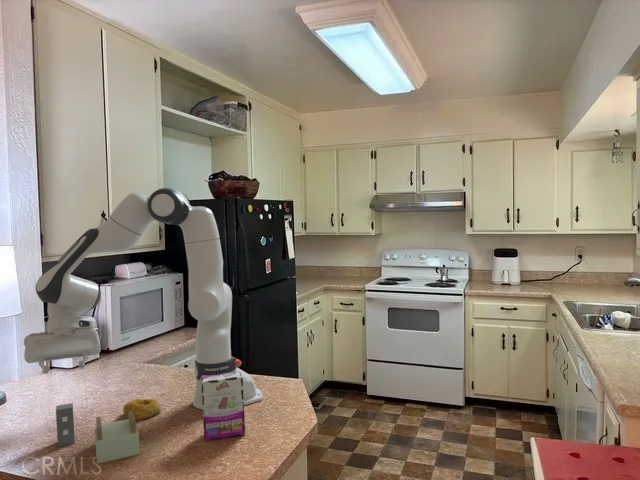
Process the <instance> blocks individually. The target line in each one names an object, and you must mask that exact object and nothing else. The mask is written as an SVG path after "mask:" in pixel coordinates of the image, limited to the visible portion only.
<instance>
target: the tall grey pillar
mask: <svg viewBox="0 0 640 480" xmlns="http://www.w3.org/2000/svg"><path fill="white" fill-rule="evenodd" d="M55 417H56V420H55V421H56V437H57V447H58V448H61V447H65V446H69V445H75V440H76V436H75V422H74V421H75V419H74V403H73V402H71V403H66V404H60V405H56V406H55Z"/></svg>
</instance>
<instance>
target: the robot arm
mask: <svg viewBox="0 0 640 480" xmlns="http://www.w3.org/2000/svg"><path fill="white" fill-rule="evenodd" d="M154 221H157V222H160V223H162V224H167V225H174V226H178V227H180V228H181V230H182V234H183V241H184V247H185V253H186V254H185V255H186V260H187V269H188V303H187V307H188V308H187V309H188V311H189V313H190V316H191V317H192V318H193V319H195V320H197V327H196V332H195V333H196V334H195V357H196V358H195V361H194V375H195V380H196V381H195V392H194V397H193V401H192V406H193V407H194V408H197V409H199V410H203V407H202V388H201V377H206V376H214V375H221V374H229V373H238V372H241V375H242V378H243V397H244V406H247V405H249V404H253V403H256V402H260V401H262V400H263V398H264V395H263V392H262V391H261V390H260V388H258V387H256V383H255V381H254V379H253V377H252V376H251V375H250V374H249V373H247V372H246V371H244V370H242V369H240V368H239V367H241V365H242V361H241V360H240V359H238V358H236V357H234V356H232V349H231V345H232V344H231V328H232V315H233V314H232V310H233V293H232V290H231V287H230V286H229V285H228V284H227V283H226V282H224V259H223V258H224V257H223V252H222V245H221V239H220V233H219V229H218V224H217V221H216V218H215V214H214V213H213V211H212V210H211V209H210V208H208V207H206V206H202V205H201V206H200V205H199V206H192V205H191V201H190V199H189V198H188V197H187V195H185V194H184V193H182V192H181V191H179V190H177V189H173V188H168V187H167V188H166V187H163V188H158V189H157V190H154V191H153V192H152V193H151V194H150V195H149V196H147V195H145V194H143V193H139V192H131V193H128V194H127V195H126V196H125V197H124V198H123V199H122V201H120V202H119V203H118V205H117V206H116V207H115V208H114V210H113V211H112V213H110V215H109V217H108V218H107V219H106V220H105V221H104V222H103V223H102V224H100V225H99V226H97V227H94V228H90V229H88V230H86V231H85V232H84V233H83V234H82V235H81V236H79V238H78V239H76V241H75V242H74V243H73V244H72V245H71V246H70V247H69V248H68V249H67V250H66V251H65V252H64V253H63V255H62V256H61V257H60V258H58V260H57V261H56V262H55V263H54V264H53V265H51V267H50V268H48V269H47V270H46V271H44V273H42V275H40V276H39V278H38V280H37V282H36V284H35V292H36V295H37V297H38V298H39V300H40V301H41V302H43V303H47V316H48V319H47V322H46V323H47V324H46V327H47V328H46V331H41V332H37V333H35V332H33V333H30V334H28V335H26V336H25V338H24V340H23V345H24V346H25V347H24V355H23V357H24V361H25V362H26V363H27V364H35V363H38V366H39V367H40V368H41V372H42V375H44V374H45V375H46V374H49V368H50V367H49V365H45V362H50V361H57V360H65V359H74V358H82V360H80V361H78V369H79V370H83V369H85V364H86V363H87V361H88V359H89V356H97V355H99V354H100V353H101V341H100V335H99V334H98V331H97V330H96V326H95V322H94V321H92V320H85V319H81V318H79V317H80V316H82V315H85V314H87V313H88V312H90V311H92V310H93V309H95V308H96V307H97V306H98V305H99V302H100V300H101V289H100V286H99V285H98V283H96V282H94V281H91V280H89V279H85V278H82V277H80V276H79V277H78V276H75V275H72V273H73V271H74V270H75V269H76V268H77V267H78V266H79V265H80V264H81V263H82V262H83V261H84V259H85V258H86V257H88V256H90V255H92V254H95V253H101V252H102V253H106V252H107V253H108V252H109V253H111V252H112V253H118V252H125V251H127V250H130V249H131V248H133V247H134V246H135V245H136V244H137V243H138V242H139V240H140V238H141V237H142V235H143V234H144V233H145V231H146V229H147V228H148V226H149V225H151V223H152V222H154Z"/></svg>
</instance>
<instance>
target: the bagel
mask: <svg viewBox="0 0 640 480" xmlns="http://www.w3.org/2000/svg"><path fill="white" fill-rule="evenodd" d="M131 410H132V411H133V414H134V417H135V421H142V420H146V419H150V418H151V417H153V416H156V415H158V414H160V413H161V411H162V407H161V405H160V404H159V402H158V400H155V399H149V398H145V399H142V398H137V399H133V400H130V401H129V402H127V403H125V404H124V406H123V409H122V411H123V413H122V414H123V415H124V416H125V418H126V419H129V411H131Z"/></svg>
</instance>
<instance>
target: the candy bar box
mask: <svg viewBox="0 0 640 480" xmlns="http://www.w3.org/2000/svg"><path fill="white" fill-rule="evenodd" d="M201 388H202V407H203V409H202V422H203V423H202V424H203V437H204V442H209V441H216V440H222V439H228V438H234V437H240V436H245V435H246V424H245V423H246V422H245V421H246V419H245V418H246V417H245V405H244V397H243V378H242V375H241V372H238V373H229V374H221V375H214V376H206V377H201Z"/></svg>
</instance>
